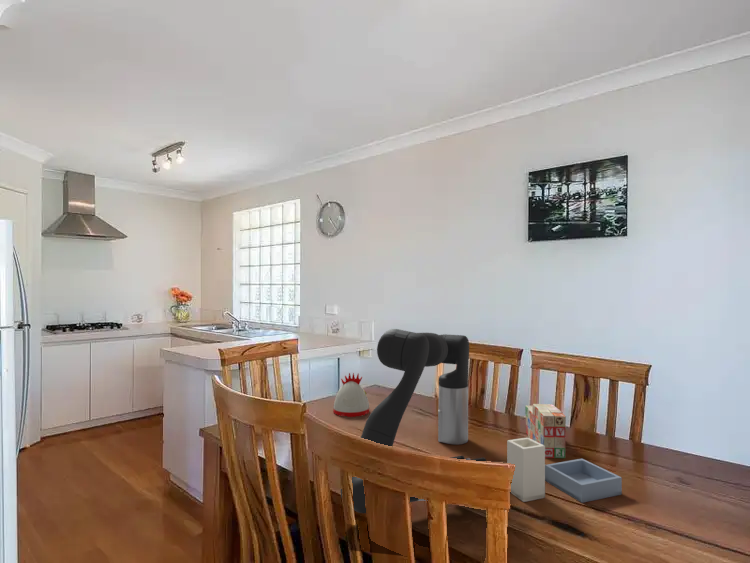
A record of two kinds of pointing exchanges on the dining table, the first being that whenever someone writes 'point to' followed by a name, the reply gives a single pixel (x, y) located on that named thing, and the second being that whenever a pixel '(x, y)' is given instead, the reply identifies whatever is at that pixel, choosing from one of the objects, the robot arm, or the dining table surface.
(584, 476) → the slate crate
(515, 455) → the cream caddy
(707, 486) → the dining table surface
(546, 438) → the stack of blocks
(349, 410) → the kitchen timer
